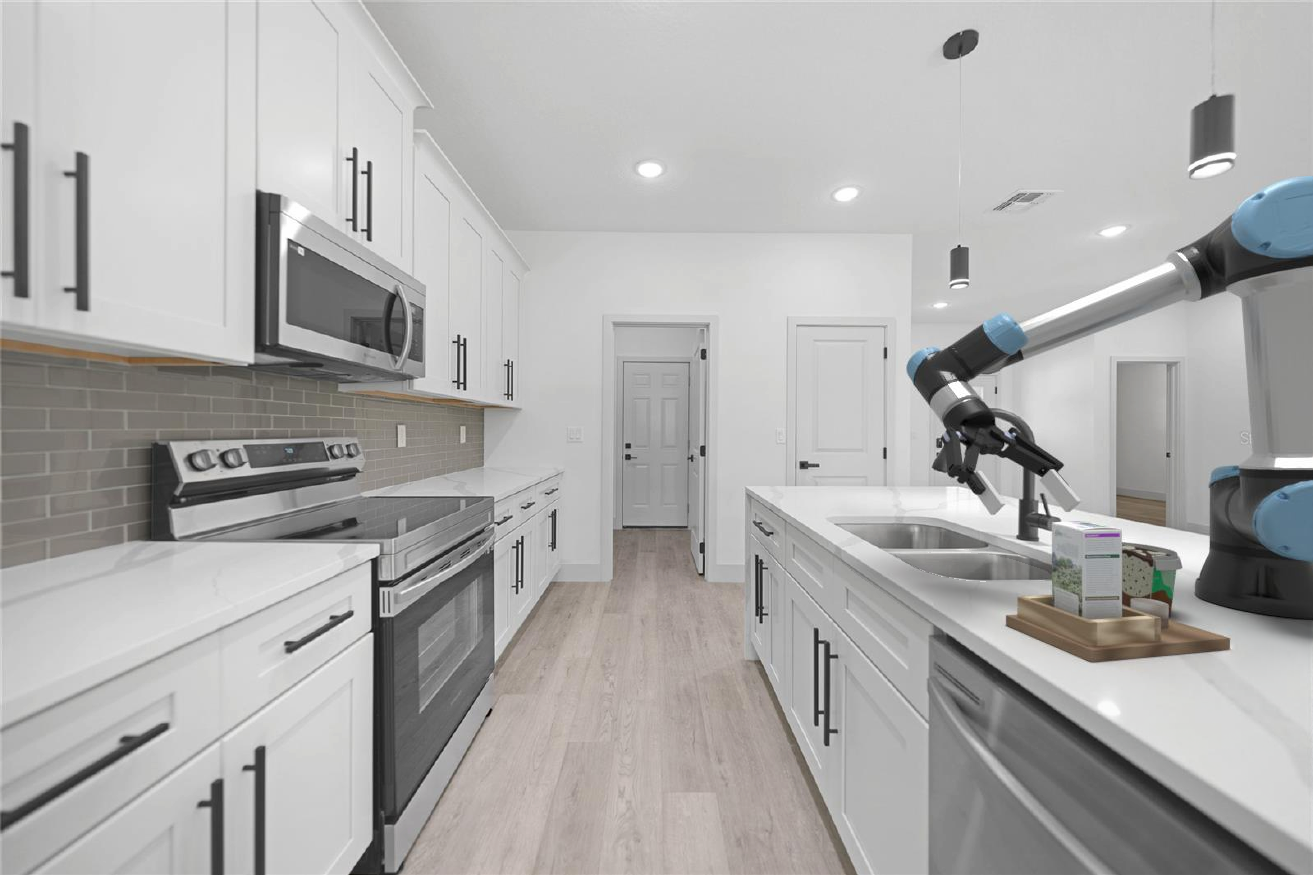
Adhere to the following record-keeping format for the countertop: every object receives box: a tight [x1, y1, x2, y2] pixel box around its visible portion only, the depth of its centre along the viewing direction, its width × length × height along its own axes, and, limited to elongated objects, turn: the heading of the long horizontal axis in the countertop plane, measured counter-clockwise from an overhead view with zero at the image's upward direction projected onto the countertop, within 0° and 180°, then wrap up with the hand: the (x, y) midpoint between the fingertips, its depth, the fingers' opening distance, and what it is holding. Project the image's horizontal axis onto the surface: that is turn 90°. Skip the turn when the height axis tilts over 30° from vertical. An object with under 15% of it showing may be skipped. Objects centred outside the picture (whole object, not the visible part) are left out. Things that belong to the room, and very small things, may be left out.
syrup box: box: [1051, 520, 1123, 620], centre depth 74 cm, size 6×6×14 cm
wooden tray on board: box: [1005, 594, 1231, 663], centre depth 75 cm, size 22×13×4 cm, turn 100°
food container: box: [1122, 541, 1183, 619], centre depth 86 cm, size 12×6×10 cm, turn 168°
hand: (1036, 508), depth 81 cm, fingers open, 13 cm apart
